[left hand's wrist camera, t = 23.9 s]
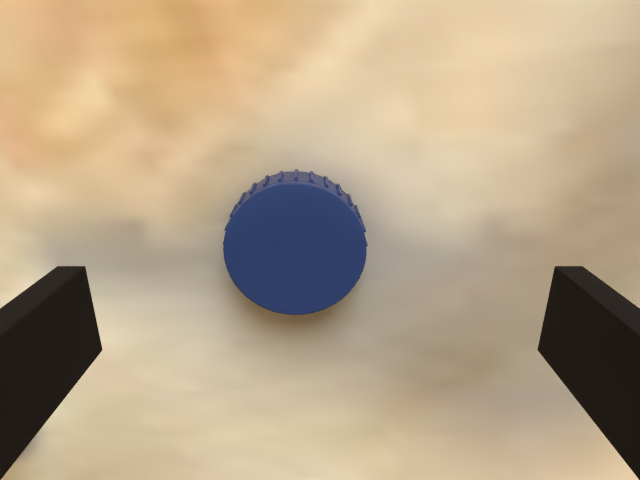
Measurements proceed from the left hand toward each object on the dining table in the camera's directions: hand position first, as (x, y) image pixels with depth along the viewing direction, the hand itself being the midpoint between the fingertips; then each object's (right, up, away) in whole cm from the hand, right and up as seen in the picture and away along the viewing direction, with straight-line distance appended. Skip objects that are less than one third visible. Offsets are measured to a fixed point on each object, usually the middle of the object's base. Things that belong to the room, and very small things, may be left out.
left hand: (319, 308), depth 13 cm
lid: (-1, +2, +3) cm, 4 cm away
